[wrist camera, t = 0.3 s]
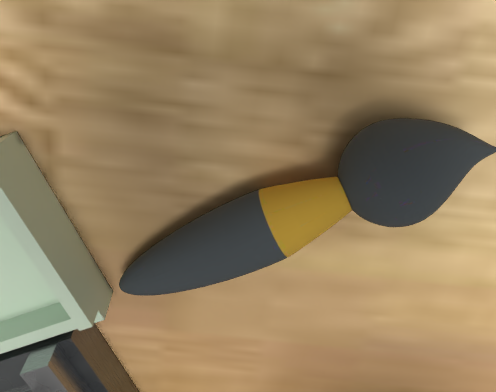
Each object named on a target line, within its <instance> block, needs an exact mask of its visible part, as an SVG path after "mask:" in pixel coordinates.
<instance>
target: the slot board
mask: <svg viewBox="0 0 496 392" xmlns="http://www.w3.org/2000/svg"><path fill="white" fill-rule="evenodd" d="M26 384H28V386H29V387H30V388H31V389H32V390H33V392H139V391H138V390H137V388H136V386H135V385H134V383H133V382H132V380H131V379H130V377H129V376H128V374H127V373H126V371H125V370H124V368H123V367H122V365H121V364H120V362H119V361H118V359H117V358H116V356H115V355H114V353H113V351H112V350H111V348H110V347H109V345H108V344H107V342H106V341H105V339H104V338H103V336H102V335H101V333H100V332H99V330H98V329H97V327H96V326H95V324H93V327H90V328H87V329H84V330H81V331H79V330H78V329H75V330H72V331H69V332H66V333H63V334H60V335H57V336H54V337H51V338H48V339H45V340H41V341H38V342H35V343H32V344H29V345H26V346H23V347H20V348H17V349H14V350H11V351H8V352H5V353H2V354H0V392H4V391H7V390H10V389H13V388H17V387H20V386H23V385H26Z"/></svg>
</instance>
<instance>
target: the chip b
mask: <svg viewBox="0 0 496 392" xmlns="http://www.w3.org/2000/svg"><path fill="white" fill-rule="evenodd" d="M4 392H33V390H32V389H31V388H30V387H29V386H28V384H26V385H23V386H20V387H17V388H13V389H10V390H7V391H4Z"/></svg>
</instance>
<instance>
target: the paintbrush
mask: <svg viewBox="0 0 496 392" xmlns="http://www.w3.org/2000/svg"><path fill="white" fill-rule="evenodd" d="M495 152H496V147H494V146H492V145H489V144H488V143H486V142H484V141H482V140H480V139H478V138H477V137H475V136H473V135H471V134H469V133H467V132H465V131H463V130H461V129H458V128H456V127H453V126H450V125H447V124H443V123H440V122H435V121H429V120H422V119H406V118H399V119H388V120H383V121H379V122H376V123H373V124H371V125H369V126H367V127H366V128H364V129H363V130H361V131H360V132H359V133H357V134H356V135H355V136H354V137H353V138H352V140H351V141H350V142H349V143H348V145H347V146H346V148H345V150H344V152H343V154H342V157H341V159H340V163H339V167H338V177H329V178H320V179H313V180H306V181H300V182H294V183H288V184H282V185H277V186H272V187H267V188H263V189H260V190H256V191H253V192H251V193H248V194H246V195H244V196H241V197H239V198H237V199H235V200H232V201H230V202H228V203H226V204H224V205H222V206H219V207H217V208H216V209H214V210H212V211H210V212H208V213H206V214H204V215H202V216H200V217H198V218H197V219H195V220H193V221H192V222H190V223H188V224H186V225H185V226H183V227H181V228H180V229H178V230H176V231H175V232H173V233H172V234H170V235H169V236H167V237H166V238H164V239H163V240H161V241H160V242H158V243H157V244H155V245H154V246H152V247H151V248H150V249H149V250H147V251H146V252H145V253H143V254H142V255H141V256H140V257H139V258H137V259H136V260H135V261H134V262H133V263H132V264H131V265H130V266H129V267H128V268H127V270H126V271H125V272H124V274H123V275H122V277H121V279H120V282H119V287H120V289H121V290H122V291H124V292H126V293H128V294H133V295H161V294H169V293H176V292H181V291H186V290H191V289H196V288H200V287H205V286H208V285H212V284H216V283H219V282H223V281H227V280H230V279H233V278H236V277H239V276H242V275H245V274H248V273H251V272H253V271H256V270H259V269H262V268H264V267H267V266H269V265H272V264H274V263H276V262H279V261H281V260H283V259H285V258H287V257H289V256H291V255H292V254H294V253H295V252H297V251H298V250H300V249H301V248H303V247H304V246H306V245H307V244H308V243H310V242H311V241H313V240H314V239H315V238H317V237H318V236H319V235H321V234H322V233H324V232H325V231H326V230H328V229H329V228H330V227H332V226H333V225H334V224H335V223H337V222H338V221H339V220H341V219H342V218H343V217H344V216H346V215H347V214H348V213H349V212H350V211H351V210H353V211H354V212H355V213H356V214H358V215H359V216H360V217H362V218H364V219H365V220H367V221H370V222H372V223H375V224H378V225H382V226H387V227H404V226H409V225H413V224H416V223H418V222H420V221H422V220H424V219H426V218H427V217H429V216H430V215H432V214H433V213H434V212H435V211H436V210H437V209H438V208H439V207H440V206H441V205H442V204H443V203H444V202H445V201H446V200H447V199H448V197H449V196H450V195H451V194H452V192H453V191H454V190H455V188H456V187H457V186H458V184H459V183H460V182H461V181H462V179H463V178H464V177H465V175H466V174H467V173H468V172H469V171H470V170H471V168H472V167H473V166H474V165H476V164H477V163H478V162H479V161H481V160H482V159H484V158H485V157H487V156H489V155H491V154H493V153H495Z"/></svg>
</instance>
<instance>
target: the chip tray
mask: <svg viewBox="0 0 496 392" xmlns="http://www.w3.org/2000/svg"><path fill="white" fill-rule="evenodd" d="M112 293H113V291H112V289H111V288H110V286H109V284H108V283H107V281H106V279H105V278H104V276H103V274H102V273H101V271H100V269H99V268H98V266H97V264H96V263H95V261H94V259H93V258H92V256H91V254H90V253H89V251H88V249H87V248H86V246H85V244H84V243H83V241H82V239H81V238H80V236H79V234H78V233H77V231H76V229H75V228H74V226H73V224H72V223H71V221H70V219H69V218H68V216H67V214H66V213H65V211H64V209H63V208H62V206H61V204H60V203H59V201H58V199H57V198H56V196H55V194H54V193H53V191H52V189H51V188H50V186H49V184H48V183H47V181H46V179H45V178H44V176H43V174H42V173H41V171H40V169H39V168H38V166H37V164H36V163H35V161H34V160H33V158H32V156H31V155H30V153H29V151H28V150H27V148H26V146H25V145H24V143H23V141H22V140H21V138H20V136H19V135H18V133H17V131H15V132H12V133H9V134H6V135H3V136H1V137H0V354H2V353H5V352H8V351H11V350H14V349H17V348H20V347H23V346H26V345H29V344H32V343H35V342H38V341H41V340H45V339H48V338H51V337H54V336H57V335H60V334H63V333H66V332H69V331H72V330H75V329H78V330H79V331H81V330H84V329H87V328H90V327H93V324H94V323H96V322H99V321H102V320H105V317H106V313H107V310H108V307H109V303H110V300H111V297H112Z"/></svg>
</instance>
